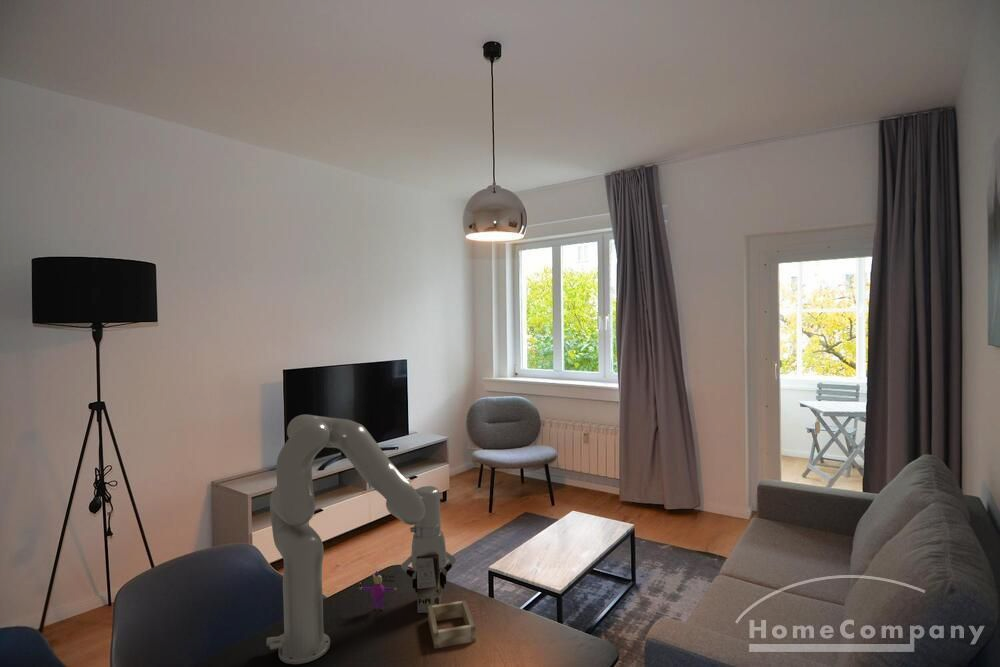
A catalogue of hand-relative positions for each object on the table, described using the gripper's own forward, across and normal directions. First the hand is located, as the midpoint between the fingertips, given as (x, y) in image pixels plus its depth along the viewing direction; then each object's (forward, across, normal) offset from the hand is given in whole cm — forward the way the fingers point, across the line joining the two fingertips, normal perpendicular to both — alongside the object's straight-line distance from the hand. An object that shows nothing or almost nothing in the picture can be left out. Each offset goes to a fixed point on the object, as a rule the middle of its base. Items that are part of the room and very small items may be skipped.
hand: (429, 588), depth 160 cm
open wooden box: (+5, +4, -15) cm, 16 cm away
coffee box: (+5, 0, 0) cm, 5 cm away
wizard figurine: (+5, -15, +1) cm, 16 cm away
